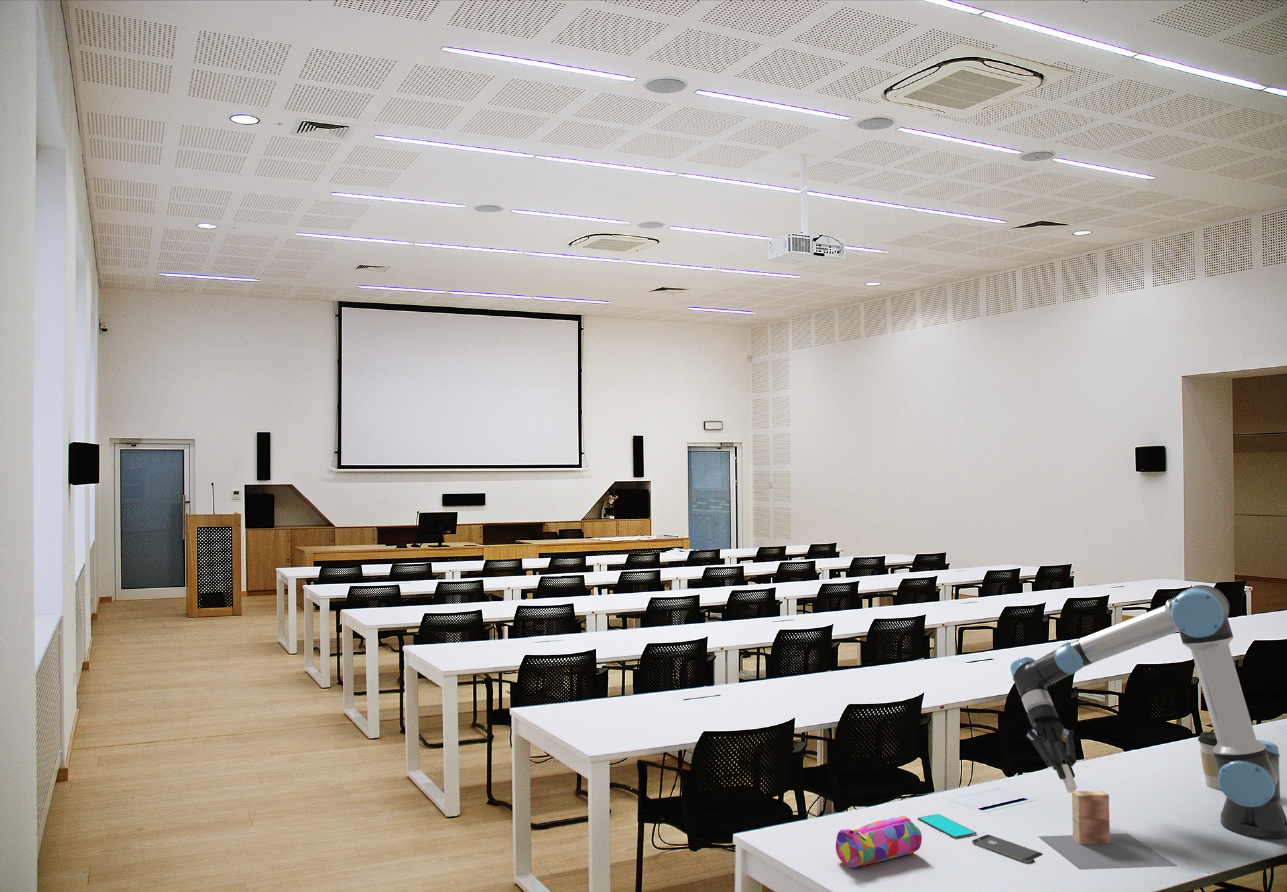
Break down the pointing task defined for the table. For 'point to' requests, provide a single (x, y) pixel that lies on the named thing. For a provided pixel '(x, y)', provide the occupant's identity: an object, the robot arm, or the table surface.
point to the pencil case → (878, 841)
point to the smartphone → (946, 826)
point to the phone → (1007, 848)
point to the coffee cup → (1209, 758)
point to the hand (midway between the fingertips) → (1072, 790)
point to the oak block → (1090, 817)
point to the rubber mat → (1107, 852)
